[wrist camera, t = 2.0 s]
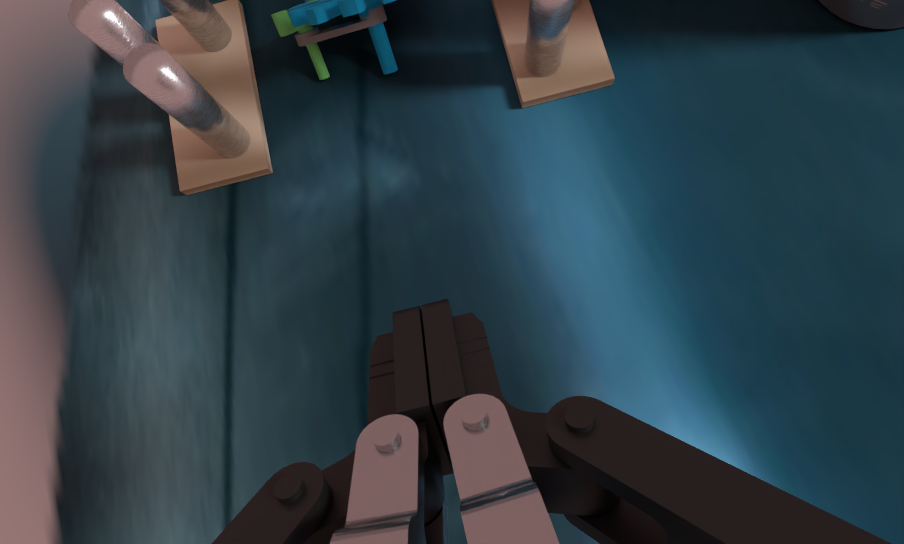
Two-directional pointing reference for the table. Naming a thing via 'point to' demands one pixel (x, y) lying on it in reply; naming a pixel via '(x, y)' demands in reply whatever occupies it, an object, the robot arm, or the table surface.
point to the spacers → (204, 23)
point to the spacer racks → (238, 94)
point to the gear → (336, 27)
